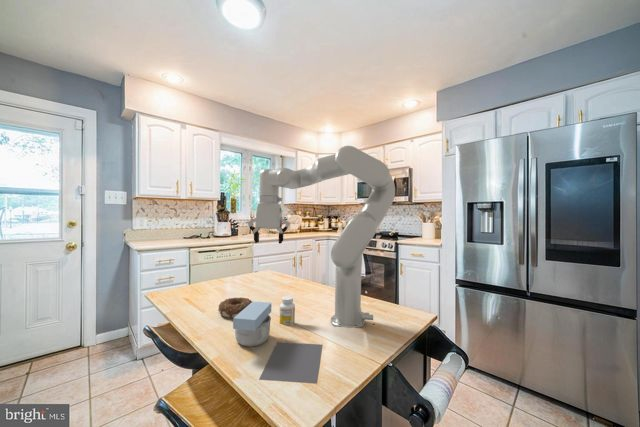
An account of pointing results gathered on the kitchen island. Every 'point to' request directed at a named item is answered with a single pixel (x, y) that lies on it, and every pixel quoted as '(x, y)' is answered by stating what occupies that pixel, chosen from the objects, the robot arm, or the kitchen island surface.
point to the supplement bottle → (287, 311)
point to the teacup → (254, 334)
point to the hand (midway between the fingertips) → (268, 242)
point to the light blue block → (252, 316)
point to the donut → (233, 306)
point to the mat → (293, 363)
